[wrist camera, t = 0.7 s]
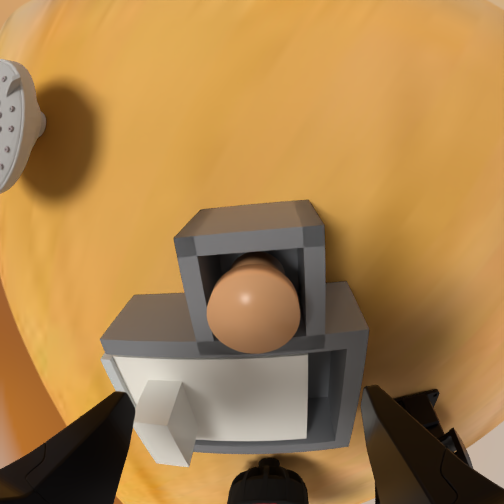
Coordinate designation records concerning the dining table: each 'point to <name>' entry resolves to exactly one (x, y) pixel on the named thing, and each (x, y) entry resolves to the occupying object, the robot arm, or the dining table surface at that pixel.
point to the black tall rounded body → (268, 485)
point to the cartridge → (212, 400)
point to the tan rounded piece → (254, 305)
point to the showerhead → (17, 121)
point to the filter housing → (304, 341)
